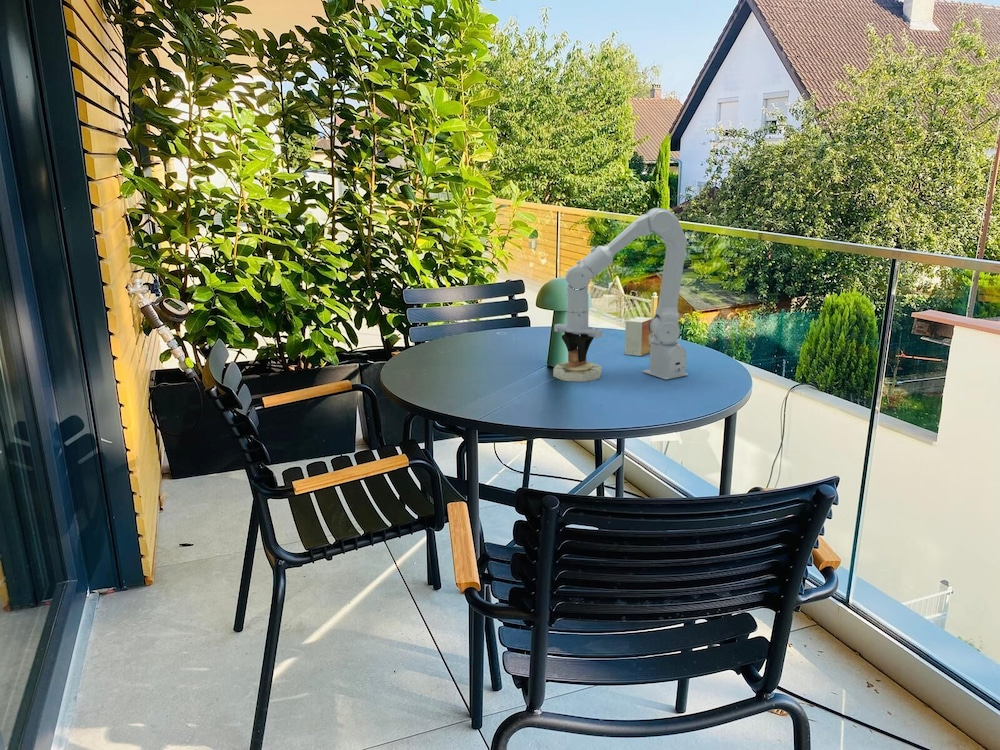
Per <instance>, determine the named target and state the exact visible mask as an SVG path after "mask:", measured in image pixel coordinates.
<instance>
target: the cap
mask: <svg viewBox="0 0 1000 750" xmlns="http://www.w3.org/2000/svg"><path fill="white" fill-rule="evenodd" d="M567 353H568V354H567V355H568V356H567V359H568V361H567V363H566V362H563V363H564V364H563V368H564V369H566V370H570V371H584V370H588V369H591V368H592V364H591V363H592V362H591V363H589V362H590V361H587V357H586V358H585V361H583V362H579V359H578V348H577V349H575V350H573V351H570V352H568V351H567Z"/></svg>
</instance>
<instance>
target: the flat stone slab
mask: <svg viewBox="0 0 1000 750" xmlns="http://www.w3.org/2000/svg"><path fill="white" fill-rule="evenodd" d="M567 362H568V361H567ZM567 362H562V363H557V364H556V365H555V366H554V367H553V369H552V370H553V372H552V373H553V374H552V375H553V378H556V379H558V380H561V381H564V382H580V383H584V382H590V381H594V380H599V379H600V378H601V375H602V370H603V369H602V365H599V364H597V363H593V362H591V361H588V362H589V363H591V364H592V368H591V369H588V370H584V371H570V370H566V369H564V368H563V364H564V363H567Z"/></svg>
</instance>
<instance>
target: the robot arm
mask: <svg viewBox="0 0 1000 750" xmlns="http://www.w3.org/2000/svg"><path fill="white" fill-rule="evenodd" d="M652 233H653V234H655V235H656V236H658V237H659V239H660V240H661V241H662V242H663V243H664V244H665V246H666V247H665V248H666V249H665V254H664V262H663V267H662V268H663V270H662V277H661V283H660V292H659V298H658V305H657V307H656V309H655V312H654V316H653V317H652V318H653V319H652V321H651V323H650V329H651V331H652V333H653V337H652V339H651V348H650V352H649V353H650V355H649V356H650V357H649V368H648V369H644V370H642V373H645V374H648V375H651V376H653V377H657V378H660V379H663V380H666V381H667V380H671V379H676V378H681V377H686V376H688V372H686V371H687V370H686V369H687V350H686V349H685V348H684V346H681V344H680V343H679V337H680V334H681V328H680V325H679V311H678V310H679V309H678V305H679V297H680V293H681V292H680V290H681V285H682V284H681V283H682V277H683V271H684V270H683V269H684V266H685V265H684V264H685V257H686V251H687V244H688V243H687V242H688V240H687V236H686V235H685V233H684V230H683V228H682V225H681V223H680V219H679V218H678V217H677V216H676V215H675V214H674V213H673V212H672V211H671V210H669V209H666V208H660V207H653V208H651V209H649V210H648V211H647V212H646V213H643V214H642V215H640V216H638V218H636V219H635V220H634V221H632V222H631V223H630V224H629V225H628V226H627V227H626V228H625V229H624V230H622V231H621V232H620V233H618V235H617V236H616V237H615V238H613V239H612V240H611V241H610V242H609V243H608V244H606V245H598V246H596V247H595V246H593V247H592V248H590V252H589V253H588V254H587V255H586V256H584V257H583V258H582V259H581V260H580V259H578V260H577V261H576V265H573V266H571V267H569V269H568V270H567V272H566V275H565V280H566V282H567V288H566V291H567V294H566V301H567V300H568V308H567V307H566V324H565V323H555V324H554V326H553V328H554V330H553V331H554V332H556V333H559V332H560V333H564V334H562V335H561V340H563V342H564V344H565V346H566V350H567V353H568V352H570V351H573V350H575V349H578V359H579V362H583V361H585V358H586V359H587V355H588V351H589V349H590V346H591V343H592V342H593V340H594V339H600V338H602V337H603V329H598V328H596V327H595V328H594V327H592V326H589V292H588V289H589V284H590V282H591V279H594V278H596V277H597V276H598V275H599V274H600V273H602V272H603V271H604V270H605V269H607V268H608V267H609V266H610V265H612V264H613V261H614V256H615V255H616V254H618V253H620V251H622V250H623V249H625V247H626V246H628V245H630V244H631V243H633V242H634V241H635V240H636V239H637V238H639V237H645V236H651V235H652ZM573 288H574V289H573ZM575 289H579V290H575ZM567 297H568V299H567ZM580 309H581V310H580Z"/></svg>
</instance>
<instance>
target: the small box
mask: <svg viewBox="0 0 1000 750" xmlns="http://www.w3.org/2000/svg"><path fill="white" fill-rule="evenodd" d="M653 318H654V317H645V316H636V317H633V318H631V319H627V320H625V327H624V328H625V331H624V333H625V335H624V339H625V340H624V354H625V355H628V356H638V357H642V356H644V355H647V354H649V353H650V348H651V339H652V337H653V335H654V334H653V333H652V331H651V329H650V323H651V321H652V319H653Z"/></svg>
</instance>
